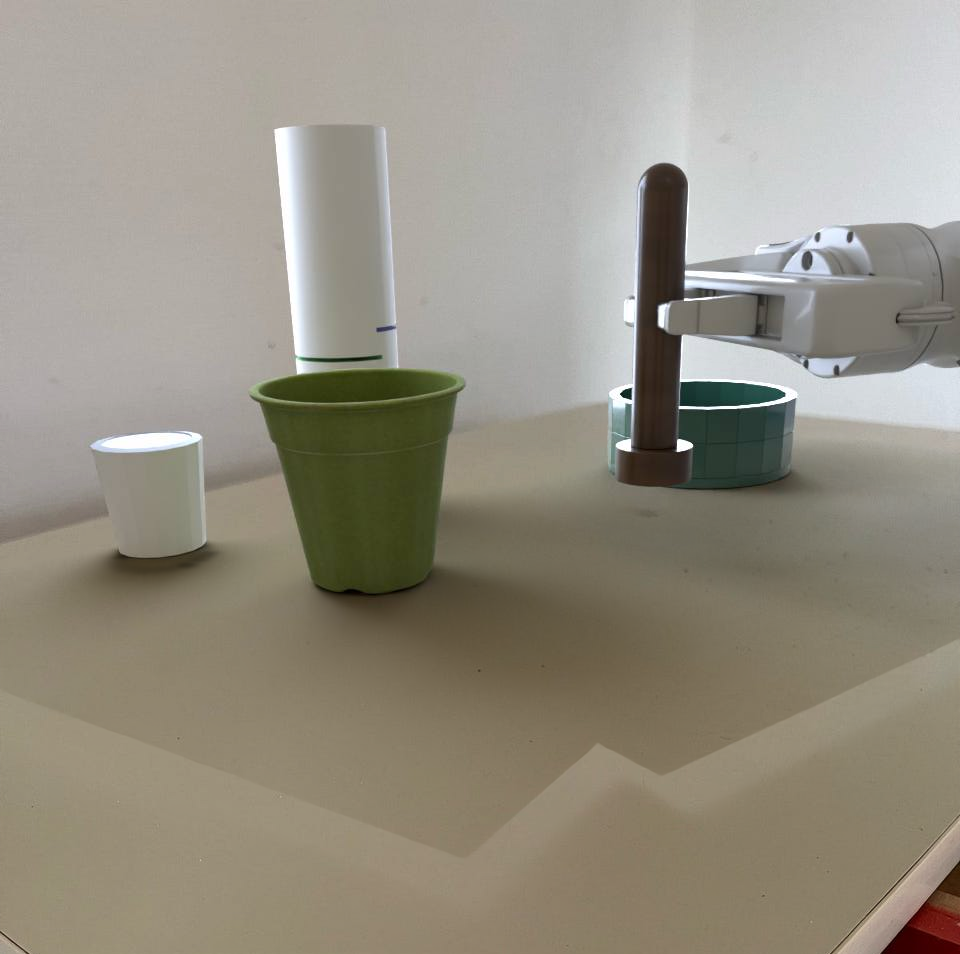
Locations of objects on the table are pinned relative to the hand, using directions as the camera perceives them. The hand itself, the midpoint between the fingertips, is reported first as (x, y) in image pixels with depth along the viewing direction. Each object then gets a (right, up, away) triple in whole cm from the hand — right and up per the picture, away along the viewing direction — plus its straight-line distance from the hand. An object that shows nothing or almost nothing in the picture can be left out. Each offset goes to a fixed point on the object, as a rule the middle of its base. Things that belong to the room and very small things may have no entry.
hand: (645, 314), depth 59 cm
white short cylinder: (-30, -12, +9) cm, 34 cm away
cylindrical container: (-18, -9, +18) cm, 27 cm away
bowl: (+8, -4, +26) cm, 28 cm away
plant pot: (-16, -15, +2) cm, 22 cm away
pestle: (+1, -9, +4) cm, 10 cm away
